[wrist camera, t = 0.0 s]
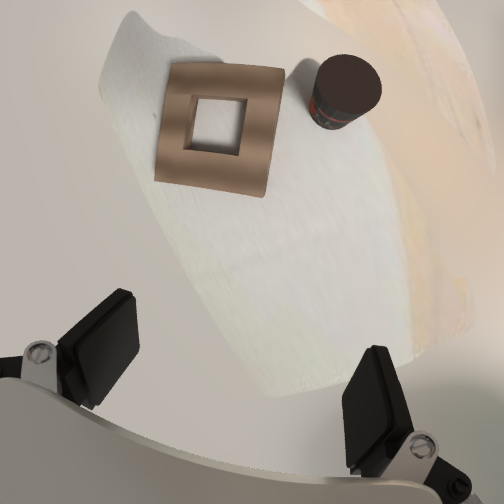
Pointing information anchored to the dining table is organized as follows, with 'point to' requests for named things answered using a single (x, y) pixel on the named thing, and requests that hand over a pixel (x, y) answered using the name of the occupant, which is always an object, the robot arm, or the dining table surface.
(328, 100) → the deodorant
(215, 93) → the socket board
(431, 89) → the dining table surface
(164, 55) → the dining table surface
